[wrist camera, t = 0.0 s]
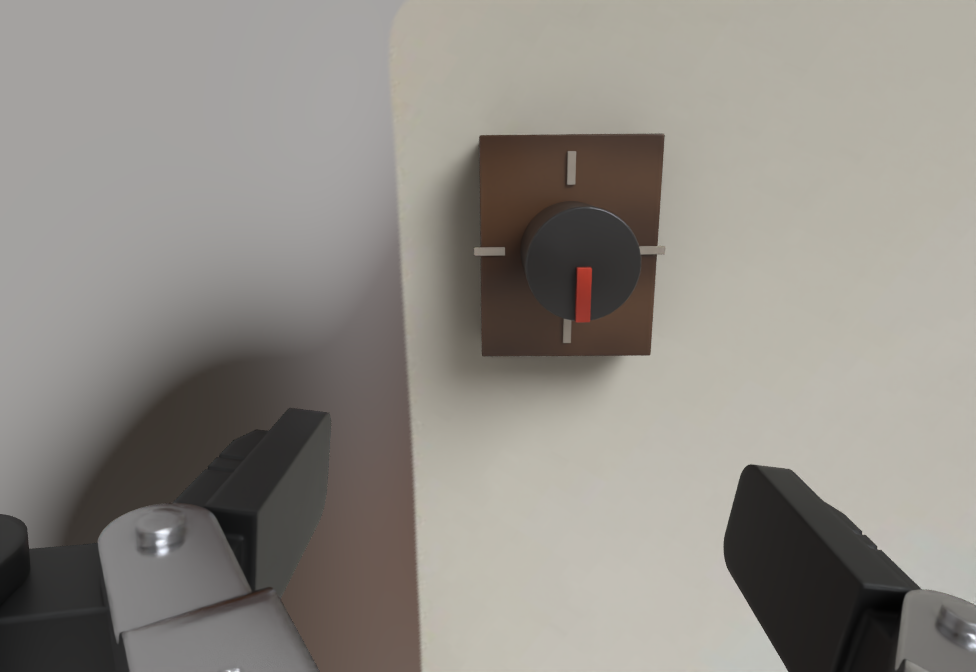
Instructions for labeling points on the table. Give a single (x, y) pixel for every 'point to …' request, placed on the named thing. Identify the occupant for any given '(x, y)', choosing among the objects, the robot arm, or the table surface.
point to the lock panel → (537, 185)
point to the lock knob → (580, 260)
